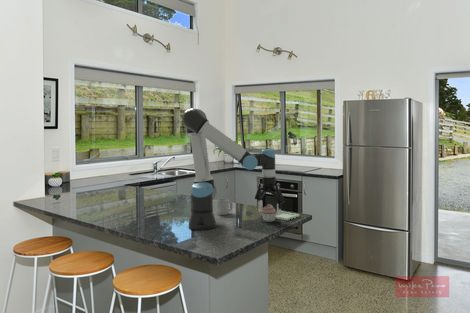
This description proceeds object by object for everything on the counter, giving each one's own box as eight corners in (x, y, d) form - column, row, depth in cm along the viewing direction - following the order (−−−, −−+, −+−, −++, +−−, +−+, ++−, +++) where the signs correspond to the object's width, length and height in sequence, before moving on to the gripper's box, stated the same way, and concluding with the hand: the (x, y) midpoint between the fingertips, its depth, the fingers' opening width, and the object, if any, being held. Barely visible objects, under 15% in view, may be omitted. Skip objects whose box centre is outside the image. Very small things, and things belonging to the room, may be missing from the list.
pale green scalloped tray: (286, 220, 224) (286, 218, 224) (267, 216, 234) (267, 214, 234) (299, 216, 234) (299, 214, 234) (280, 213, 244) (280, 210, 243)
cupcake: (257, 221, 224) (257, 204, 224) (267, 218, 231) (266, 201, 231) (270, 223, 218) (270, 206, 218) (280, 220, 225) (280, 203, 225)
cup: (216, 212, 247) (215, 198, 246) (231, 211, 249) (231, 197, 248) (218, 215, 240) (218, 201, 239) (234, 214, 242) (234, 200, 241)
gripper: (290, 177, 217) (291, 214, 219) (256, 174, 234) (257, 209, 236) (282, 178, 211) (283, 217, 213) (248, 175, 229) (249, 211, 231)
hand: (269, 213), depth 225 cm, fingers open, 13 cm apart
